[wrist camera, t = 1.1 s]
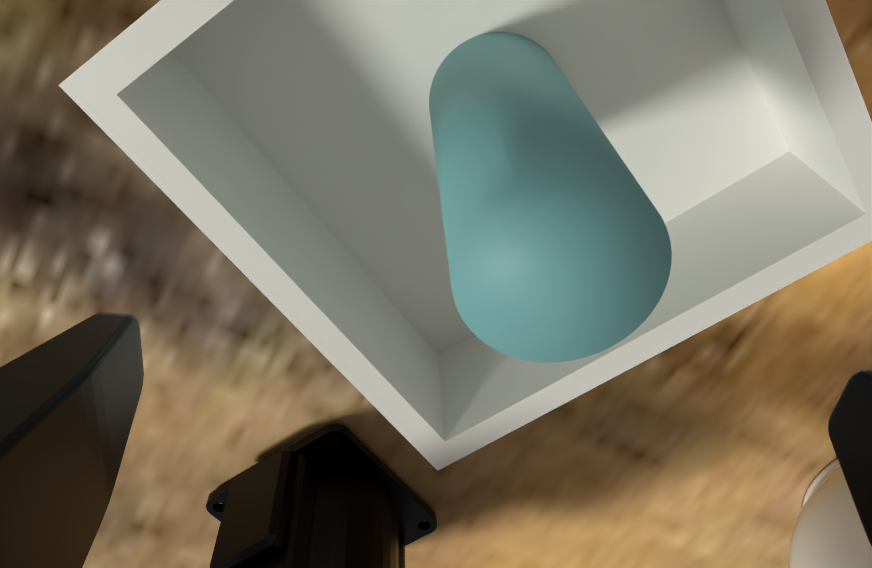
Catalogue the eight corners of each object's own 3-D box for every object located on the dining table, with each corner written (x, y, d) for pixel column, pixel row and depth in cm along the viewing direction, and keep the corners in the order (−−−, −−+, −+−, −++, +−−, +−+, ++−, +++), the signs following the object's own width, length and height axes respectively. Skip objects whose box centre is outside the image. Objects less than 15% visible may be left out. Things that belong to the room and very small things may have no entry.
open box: (809, 144, 22) (909, 220, 18) (430, 363, 25) (437, 471, 21) (592, -353, 16) (665, -420, 11) (132, 28, 19) (58, 84, 15)
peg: (587, 117, 20) (707, 294, 12) (476, 188, 21) (523, 394, 13) (519, 2, 18) (608, 125, 11) (401, 85, 19) (406, 252, 12)
